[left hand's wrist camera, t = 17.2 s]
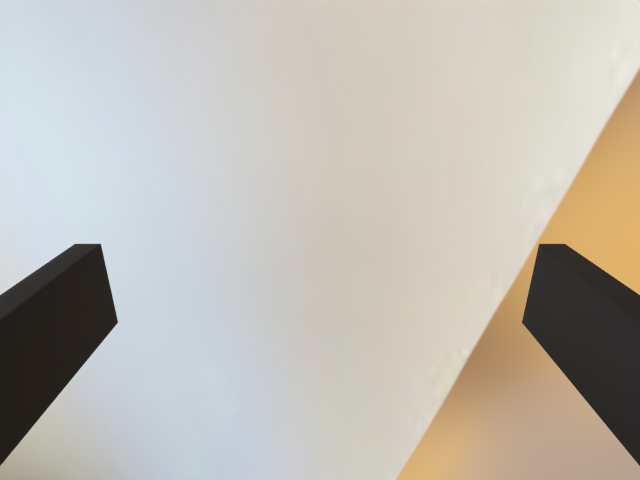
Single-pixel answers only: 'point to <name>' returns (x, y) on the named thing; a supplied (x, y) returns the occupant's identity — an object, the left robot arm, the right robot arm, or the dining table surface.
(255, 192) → the dining table surface
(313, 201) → the dining table surface
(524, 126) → the dining table surface
